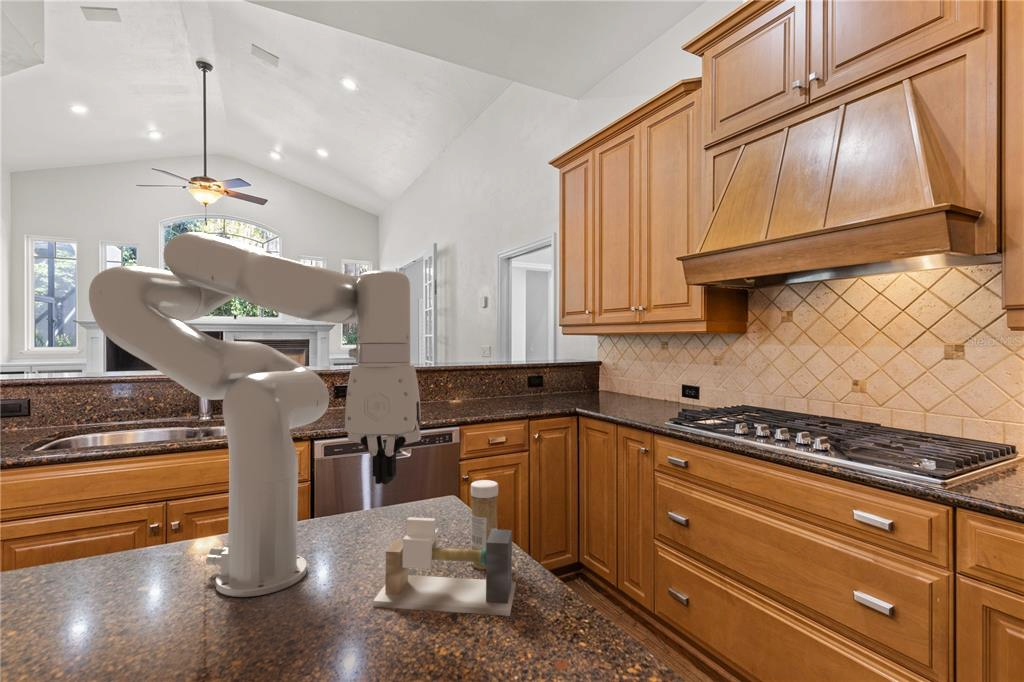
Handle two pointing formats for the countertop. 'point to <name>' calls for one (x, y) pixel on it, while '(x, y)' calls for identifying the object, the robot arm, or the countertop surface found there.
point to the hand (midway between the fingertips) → (384, 481)
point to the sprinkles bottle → (483, 514)
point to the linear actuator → (453, 581)
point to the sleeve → (419, 543)
